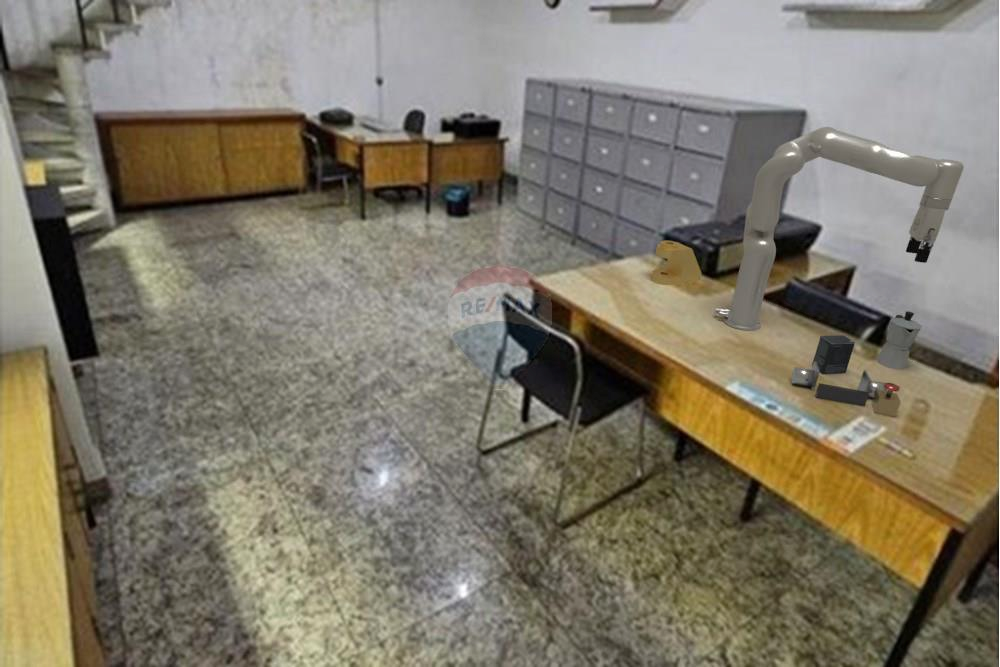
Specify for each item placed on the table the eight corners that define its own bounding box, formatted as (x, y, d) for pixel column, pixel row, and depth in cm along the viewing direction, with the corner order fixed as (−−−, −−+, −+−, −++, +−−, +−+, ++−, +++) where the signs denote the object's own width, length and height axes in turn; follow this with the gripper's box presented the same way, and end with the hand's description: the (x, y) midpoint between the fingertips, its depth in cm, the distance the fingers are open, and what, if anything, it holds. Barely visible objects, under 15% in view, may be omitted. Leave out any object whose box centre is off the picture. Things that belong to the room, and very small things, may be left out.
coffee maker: (911, 377, 192) (932, 323, 184) (879, 371, 194) (899, 317, 186) (899, 356, 205) (918, 304, 197) (869, 351, 207) (887, 300, 199)
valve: (873, 413, 171) (883, 388, 167) (870, 404, 175) (880, 379, 172) (894, 418, 169) (904, 392, 166) (891, 409, 174) (900, 383, 170)
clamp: (660, 286, 249) (668, 247, 243) (646, 278, 257) (652, 240, 250) (700, 281, 258) (708, 243, 251) (685, 273, 265) (692, 236, 258)
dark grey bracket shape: (794, 393, 178) (800, 373, 175) (789, 377, 187) (795, 358, 184) (887, 411, 172) (894, 390, 170) (878, 393, 181) (885, 373, 178)
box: (833, 365, 196) (843, 334, 191) (845, 374, 191) (856, 343, 186) (810, 366, 194) (820, 335, 190) (822, 375, 189) (832, 343, 185)
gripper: (913, 195, 198) (895, 247, 205) (930, 207, 183) (909, 263, 190) (940, 198, 196) (920, 251, 204) (959, 210, 181) (937, 267, 188)
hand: (915, 257), depth 197 cm, fingers open, 9 cm apart
